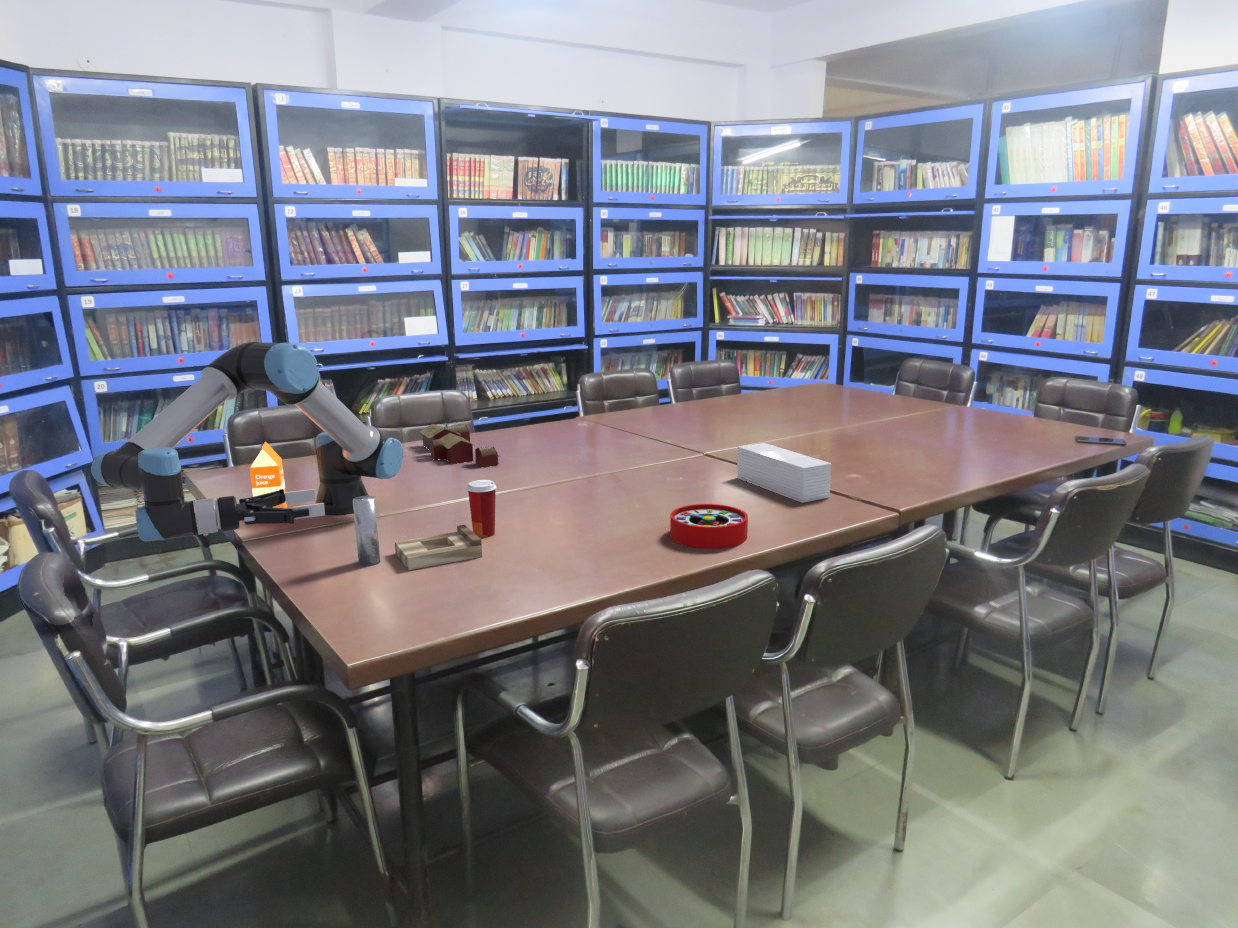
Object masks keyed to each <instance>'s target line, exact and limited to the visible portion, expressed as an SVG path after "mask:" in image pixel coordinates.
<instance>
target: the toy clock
mask: <svg viewBox="0 0 1238 928" xmlns="http://www.w3.org/2000/svg"><path fill="white" fill-rule="evenodd" d="M748 520H749V517H748V514H747V512H746V511H745V510H742V509H740V508H738V507H734V506H731V505H725V504H716V503H695V504H688V505H684V506H680V507H677V508H675V509H673V510H672V511H671V512H670V522H669V523H670V526H669V527H670V531H669V533H670V534H669V535H670V539H671V540H672V541H674V542H675V543H677V544H679V545H682V546H685V547H688V548H689V547H690V548H694V549H701V550H702V549H703V550H704V549H705V550H706V549H707V550H718V549H719V550H720V549H726V548H727V549H728V548H734V547H736V546H739V545H742V544H743V543H745V542H746V541H747V540H748V534H749V533H748V528H749V527H748V526H749V525H748V524H749V523H748V522H749V521H748Z"/></svg>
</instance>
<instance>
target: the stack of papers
mask: <svg viewBox="0 0 1238 928" xmlns="http://www.w3.org/2000/svg"><path fill="white" fill-rule="evenodd" d="M736 464H737V465H736V466H737V468H736V478H737V479H739V480H741V481H744V482H746V481H747V483H749V484H751V483H752V485H754V486H757V487H759V486H760V487H759V488H763V489H765V490H768V491H771V492H774V493H776V494H777V495H781V496H783V497H786V498H788V499H790V500H794V501H797V502H800V503H802V504H803V503H807V502H812V501H819V500H824V499H828V498H830V497H831V484H832V483H831V482H832V480H831V479H832V463H831V462H828V461H825V460H822V459H818V458H816V457H815V458H814V457H812V456H808V455H805V454H802V453H799V452H795V451H792V450H789V449H785V448H782V447H779V446H776V445H772V444H769V443H766V442H762V443H755V444H747V445H740V446H737V463H736Z"/></svg>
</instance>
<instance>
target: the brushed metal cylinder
mask: <svg viewBox="0 0 1238 928" xmlns="http://www.w3.org/2000/svg"><path fill="white" fill-rule="evenodd" d="M353 509H354V512H353V517H354V527H355V528H354V530H355V538H356V540H355V541H356V549H357V561H358V565H359V566H361V567H372V566H375V565H378V564H380V562H381V554H380V544H379V532H378V531H379V530H378V522H377V521H378V520H377V508H376V498H375V497H374V496H373V495H369V496H360V497H356V498H354V499H353Z"/></svg>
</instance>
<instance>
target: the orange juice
mask: <svg viewBox="0 0 1238 928" xmlns="http://www.w3.org/2000/svg"><path fill="white" fill-rule="evenodd" d="M249 473H250V482H251V490H252V491H251V492H252V497H254V496H258V495H262V494H266V493H270V492H274V491H279V489H284V494H285V492H286V484H285V477H284V475H285V474H284V468H283V459H282V457H281V456H279V454H278V453H277V452H276V451H275V450H274V449H273V447H271V445H269V443H268V442H267V441H265V442H264V443H263V445H262V447H261V450H260V452H259V453H258V455H257V456H256V458H255V460H253V461H252V463H251V464H250V467H249ZM273 508H288V504H286V501H285V503H283V504H280V505H277V506H275V507H273Z"/></svg>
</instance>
